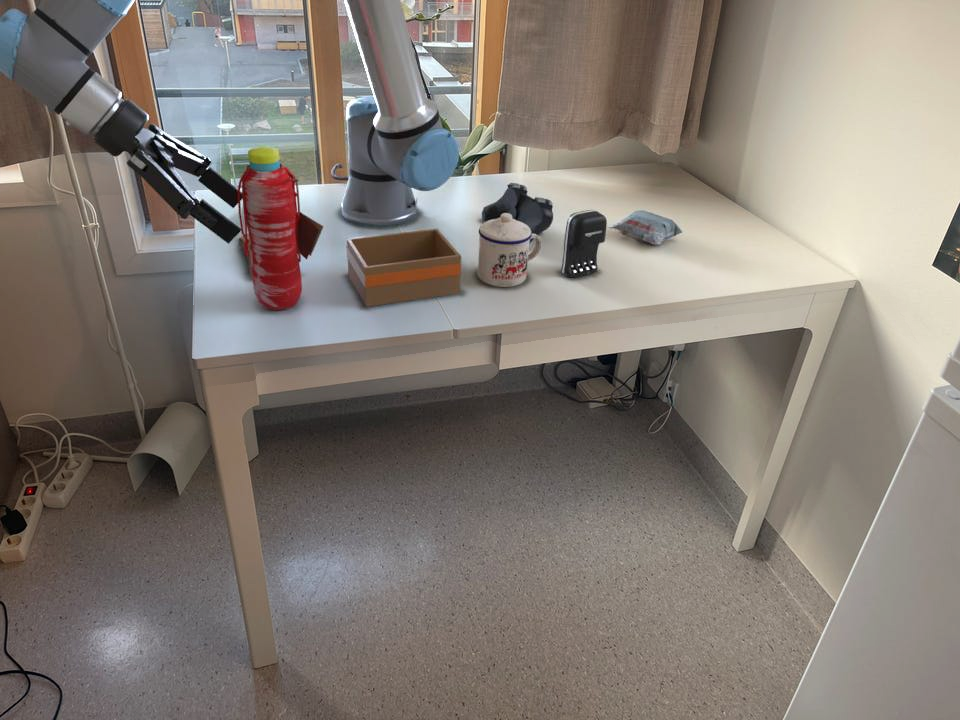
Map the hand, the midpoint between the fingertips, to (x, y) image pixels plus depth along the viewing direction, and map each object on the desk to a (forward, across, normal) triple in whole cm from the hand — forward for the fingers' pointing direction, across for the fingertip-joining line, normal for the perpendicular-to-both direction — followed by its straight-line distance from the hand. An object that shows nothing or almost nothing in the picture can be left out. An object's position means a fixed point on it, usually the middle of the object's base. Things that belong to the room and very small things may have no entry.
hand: (237, 218), depth 112 cm
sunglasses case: (+12, -17, -8) cm, 23 cm away
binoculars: (+46, -24, +26) cm, 58 cm away
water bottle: (+15, 0, -6) cm, 16 cm away
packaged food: (+64, -17, +43) cm, 79 cm away
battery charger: (+51, -4, +31) cm, 60 cm away
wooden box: (+28, -3, +8) cm, 29 cm away
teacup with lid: (+42, -5, +21) cm, 47 cm away
